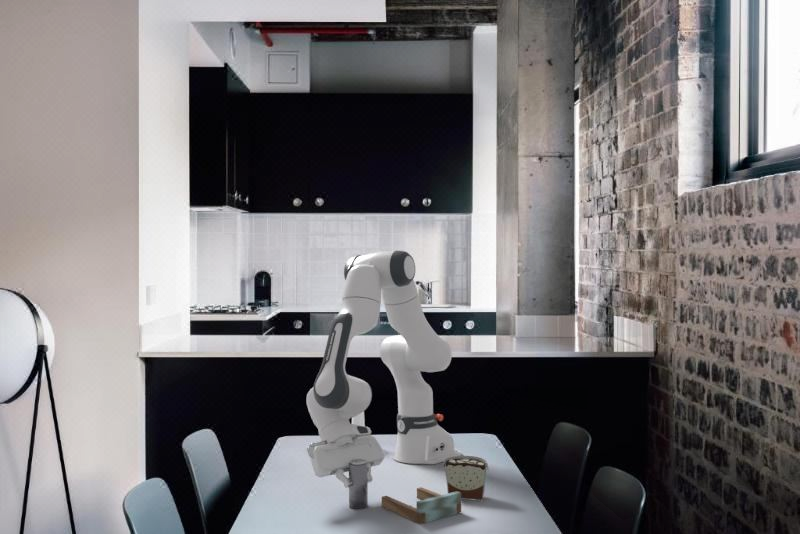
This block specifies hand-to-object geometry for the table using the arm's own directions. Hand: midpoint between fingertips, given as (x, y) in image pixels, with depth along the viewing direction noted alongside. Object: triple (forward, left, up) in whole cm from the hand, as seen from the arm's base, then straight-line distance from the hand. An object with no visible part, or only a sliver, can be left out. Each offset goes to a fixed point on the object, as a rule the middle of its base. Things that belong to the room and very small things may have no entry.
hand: (359, 483), depth 191 cm
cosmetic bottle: (-34, -52, -6) cm, 62 cm away
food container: (-28, +10, -6) cm, 30 cm away
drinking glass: (0, -1, -6) cm, 6 cm away
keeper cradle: (-11, +11, -6) cm, 17 cm away
